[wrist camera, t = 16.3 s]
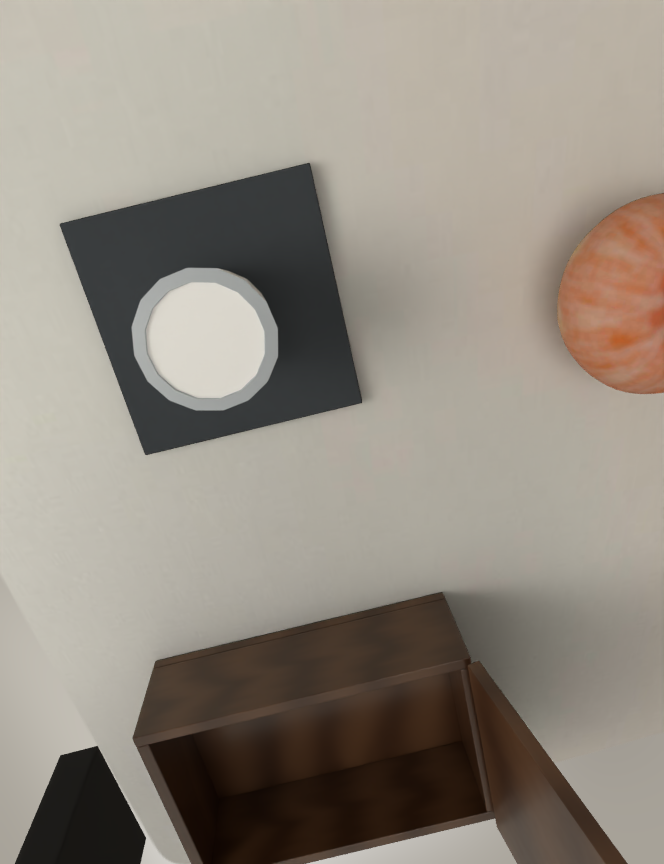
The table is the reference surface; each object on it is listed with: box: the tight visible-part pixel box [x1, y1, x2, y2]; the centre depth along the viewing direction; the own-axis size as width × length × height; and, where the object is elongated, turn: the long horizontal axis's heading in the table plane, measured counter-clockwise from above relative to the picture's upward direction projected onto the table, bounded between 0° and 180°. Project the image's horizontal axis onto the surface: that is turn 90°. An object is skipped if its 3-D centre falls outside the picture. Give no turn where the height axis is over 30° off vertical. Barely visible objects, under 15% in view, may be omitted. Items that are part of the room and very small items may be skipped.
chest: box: [133, 592, 495, 864], centre depth 41 cm, size 22×15×7 cm
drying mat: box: [60, 163, 362, 455], centre depth 34 cm, size 14×14×1 cm
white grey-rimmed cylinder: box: [132, 268, 278, 410], centre depth 30 cm, size 7×7×7 cm
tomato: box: [557, 193, 664, 394], centre depth 32 cm, size 11×11×8 cm
